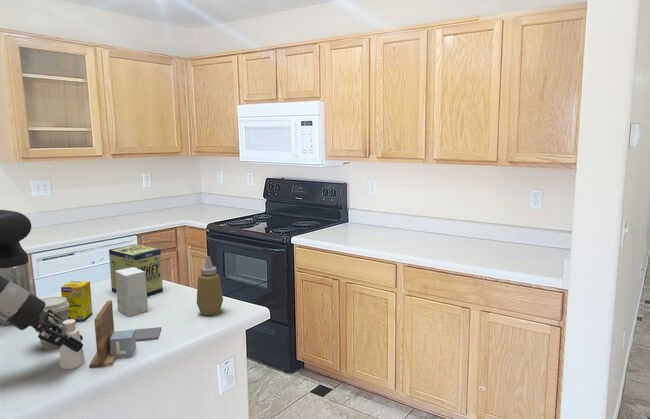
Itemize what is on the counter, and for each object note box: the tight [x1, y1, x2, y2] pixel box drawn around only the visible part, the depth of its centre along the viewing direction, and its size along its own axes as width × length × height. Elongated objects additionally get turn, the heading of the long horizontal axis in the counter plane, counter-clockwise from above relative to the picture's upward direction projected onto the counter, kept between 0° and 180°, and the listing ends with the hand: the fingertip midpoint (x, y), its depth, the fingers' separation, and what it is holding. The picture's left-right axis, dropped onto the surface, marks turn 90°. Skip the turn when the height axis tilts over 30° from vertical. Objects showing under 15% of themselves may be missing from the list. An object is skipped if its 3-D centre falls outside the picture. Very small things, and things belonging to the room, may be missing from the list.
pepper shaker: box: [59, 319, 86, 370], centre depth 113 cm, size 5×5×11 cm
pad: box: [134, 326, 162, 342], centre depth 130 cm, size 7×7×1 cm
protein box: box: [108, 243, 164, 298], centre depth 165 cm, size 10×16×16 cm
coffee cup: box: [39, 296, 69, 350], centre depth 123 cm, size 9×9×12 cm
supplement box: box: [60, 280, 93, 323], centre depth 141 cm, size 6×6×11 cm
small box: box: [115, 267, 149, 317], centre depth 147 cm, size 8×6×13 cm
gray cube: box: [110, 329, 137, 359], centre depth 119 cm, size 5×5×5 cm
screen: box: [89, 299, 117, 369], centre depth 118 cm, size 5×13×12 cm, turn 13°
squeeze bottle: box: [196, 255, 224, 316], centre depth 145 cm, size 8×8×18 cm
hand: (80, 344), depth 114 cm, fingers closed on pepper shaker, 4 cm apart
